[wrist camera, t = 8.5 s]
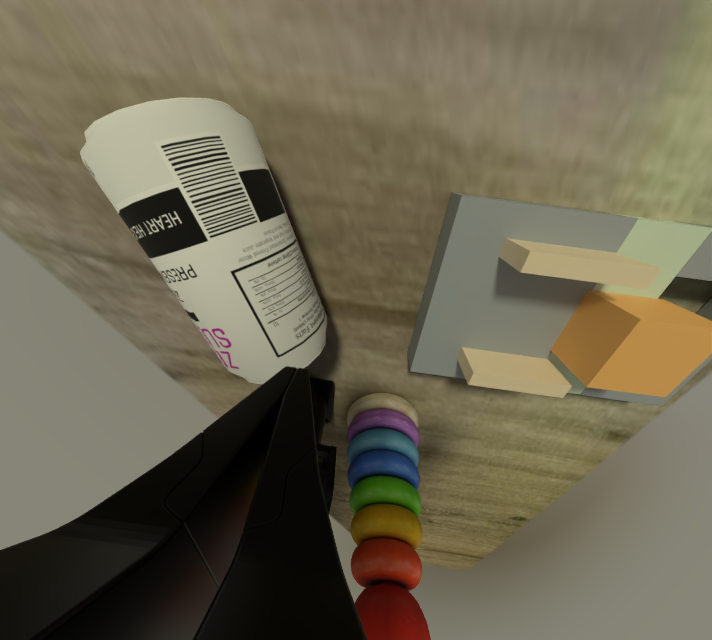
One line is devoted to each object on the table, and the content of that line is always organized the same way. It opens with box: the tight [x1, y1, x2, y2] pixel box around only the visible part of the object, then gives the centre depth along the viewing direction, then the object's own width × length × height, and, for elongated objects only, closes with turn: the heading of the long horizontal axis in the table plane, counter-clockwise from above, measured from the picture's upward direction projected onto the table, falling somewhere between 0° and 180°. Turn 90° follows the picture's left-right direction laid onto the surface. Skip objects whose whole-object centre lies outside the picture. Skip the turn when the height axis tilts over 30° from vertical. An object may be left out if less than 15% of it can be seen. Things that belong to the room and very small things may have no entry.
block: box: [551, 290, 712, 397], centre depth 17 cm, size 5×5×4 cm
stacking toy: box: [347, 393, 431, 640], centre depth 21 cm, size 8×8×19 cm
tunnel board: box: [407, 193, 712, 406], centre depth 18 cm, size 14×22×6 cm, turn 84°
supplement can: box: [80, 98, 327, 384], centre depth 17 cm, size 8×8×15 cm
